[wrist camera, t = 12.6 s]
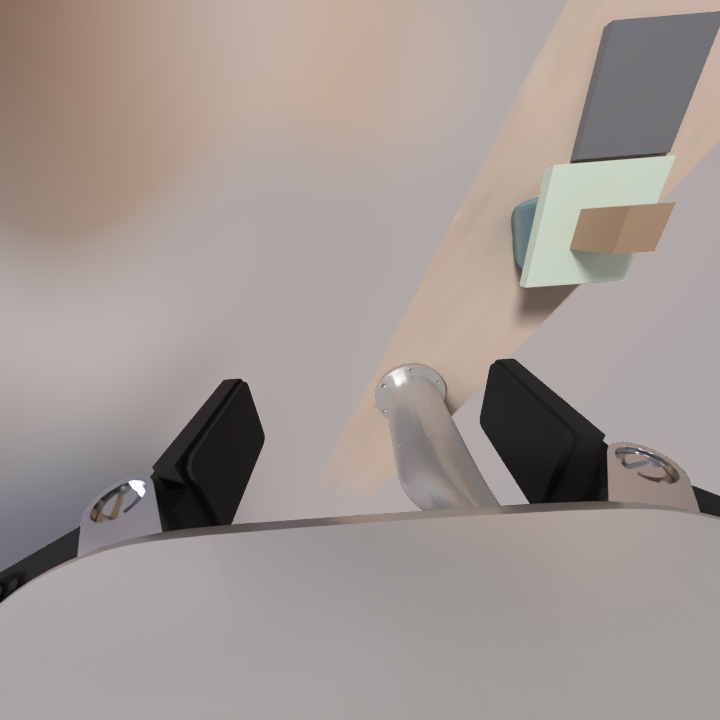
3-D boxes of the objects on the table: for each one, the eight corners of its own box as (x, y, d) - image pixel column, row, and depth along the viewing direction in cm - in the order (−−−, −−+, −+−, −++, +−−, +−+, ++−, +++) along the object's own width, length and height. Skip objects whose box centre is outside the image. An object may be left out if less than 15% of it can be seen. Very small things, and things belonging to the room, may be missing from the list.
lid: (615, 278, 29) (675, 290, 24) (519, 285, 30) (557, 299, 24) (661, 158, 24) (752, 139, 19) (545, 167, 24) (601, 151, 19)
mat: (660, 153, 31) (669, 151, 30) (570, 161, 31) (576, 159, 31) (713, 17, 26) (725, 10, 25) (604, 27, 26) (613, 20, 25)
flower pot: (566, 176, 32) (636, 161, 24) (564, 248, 36) (624, 255, 28) (495, 204, 33) (540, 198, 25) (501, 270, 37) (541, 283, 29)
